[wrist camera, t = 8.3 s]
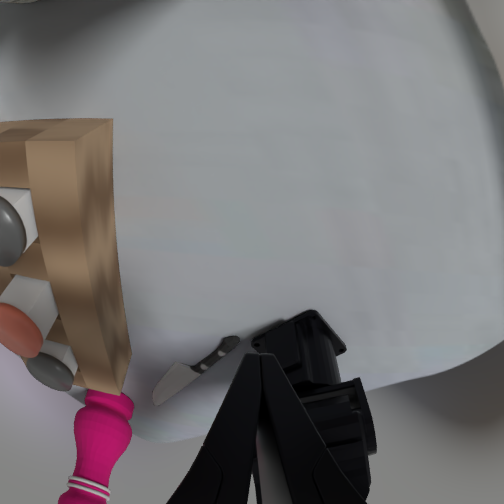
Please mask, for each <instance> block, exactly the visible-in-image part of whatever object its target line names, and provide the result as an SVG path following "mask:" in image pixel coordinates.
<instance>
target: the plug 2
mask: <svg viewBox="0 0 504 504" xmlns="http://www.w3.org/2000/svg"><path fill="white" fill-rule="evenodd" d="M26 366H27V369H28V370H29V372H30V373H31V374H32V375H33V377H34V378H36V379H37V380H38V381H40V382H41V383H42V384H44V385H46V386H48V387H50V388H52V389H55V390H58V391H69V390H70V389H71V387H72V384H73V382H74V376H75V373H76V371H77V368H78V364H77V361H76V359H75V356H74V354H73V351H72V349H71V346H68V345H64V344H60V343H57V342H53V341H49V340H45V341H44V343H43V345H42V347H41V349H40V351H39V353H38V355H37V356H36V357H34V358H28V360H27V362H26Z"/></svg>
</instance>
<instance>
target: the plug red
mask: <svg viewBox="0 0 504 504" xmlns="http://www.w3.org/2000/svg"><path fill="white" fill-rule="evenodd" d="M58 314H59V311H58V308H57V305H56V302H55V298H54V295H53V292H52V288H51V285H50V282H49V281H44V280H39V279H34V278H29V277H25V276H20V275H15V277H14V278H13V279H12V281H11V282H10V283H9V285H8V286H7V287H6V289H5V290H4V292H3V293H2V294H1V296H0V343H2V344H3V345H4V346H5V347H6V348H8V349H9V350H10V351H12V352H14V353H16V354H18V355H20V356H23V357H27V358H34V357H36V356H37V355H38V353H39V351H40V349H41V347H42V345H43V343H44V341H45V339H46V337H47V335H48V333H49V331H50V329H51V327H52V325H53V323H54V322H55V320H56V318H57V316H58Z"/></svg>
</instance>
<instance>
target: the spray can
mask: <svg viewBox="0 0 504 504" xmlns="http://www.w3.org/2000/svg"><path fill="white" fill-rule="evenodd" d="M35 1H38V0H0V2H2V3H30V2H35Z"/></svg>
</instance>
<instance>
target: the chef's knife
mask: <svg viewBox="0 0 504 504" xmlns="http://www.w3.org/2000/svg"><path fill="white" fill-rule="evenodd" d="M239 342H240V338H239V337H237V336H231V337H227V338H224V340H223V343H222V344H221V346H220V347H219V348H218V349H217V350H216V351H215V352H213V353H212V354H211V355H210V356H208V357H207V358H205V359H204V360H202V361H201V362H200V363H198V364H197V365H196V366H188V365H185V364H182V363H178V362H175V363H174V364H173V365H172V367H171V368H170V369H169V370H168V371H167V373H166V374H165V375H164V376H163V378H162V379H161V380H160V381H159V383H158V384H157V385H156V386H155V388H154V390H153V393H152V399H153V403H154V406H159V405H161V404H162V403H164V402H165V401H166V400H168V399H169V398H171V397H172V396H173V395H175V394H176V393H177V392H179V391H180V390H181V389H183V388H184V387H185V386H187V385H188V384H189V383H191V382H192V381H193V380H195V379H196V378H197V377H199V376H200V375H201V374H202V373H204V372H205V371H206V370H207V369H208V368H209V367H211V366H212V365H213V364H214V363H216V362H217V361H218V360H220V359H221V358H222V357H223V356H225V355H226V354H227V353H228V352H230V351H231V350H232V349H234V348H235V347H236V346H237V344H238V343H239Z"/></svg>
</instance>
